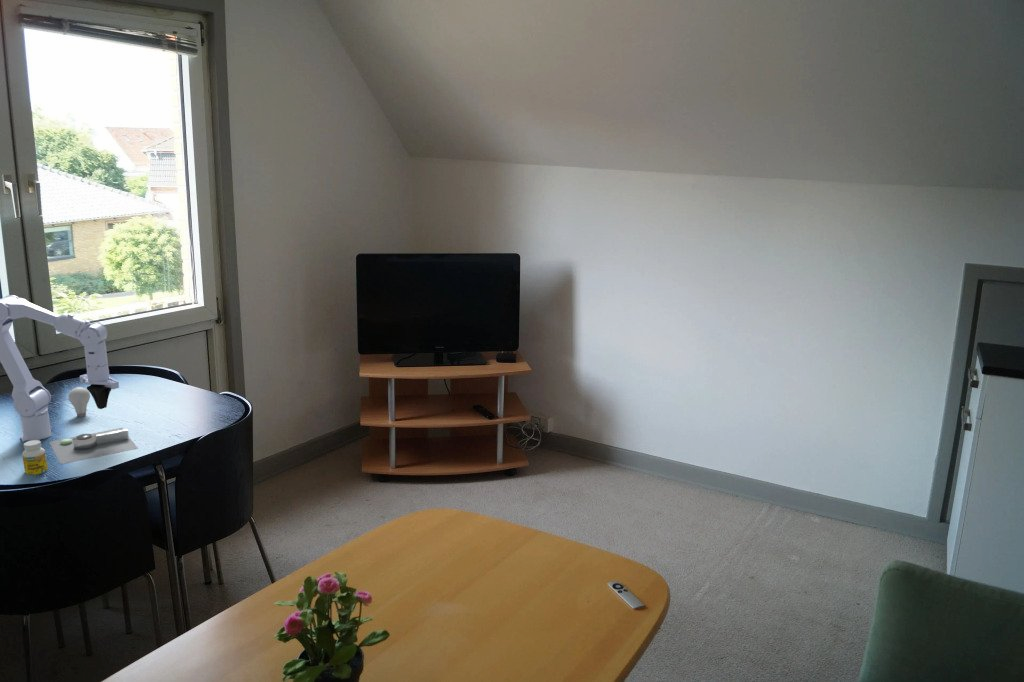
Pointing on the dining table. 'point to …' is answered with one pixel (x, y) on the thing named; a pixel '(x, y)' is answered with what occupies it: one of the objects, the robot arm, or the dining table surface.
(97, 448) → the plate
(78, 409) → the lightbulb
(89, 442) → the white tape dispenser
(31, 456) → the supplement bottle
